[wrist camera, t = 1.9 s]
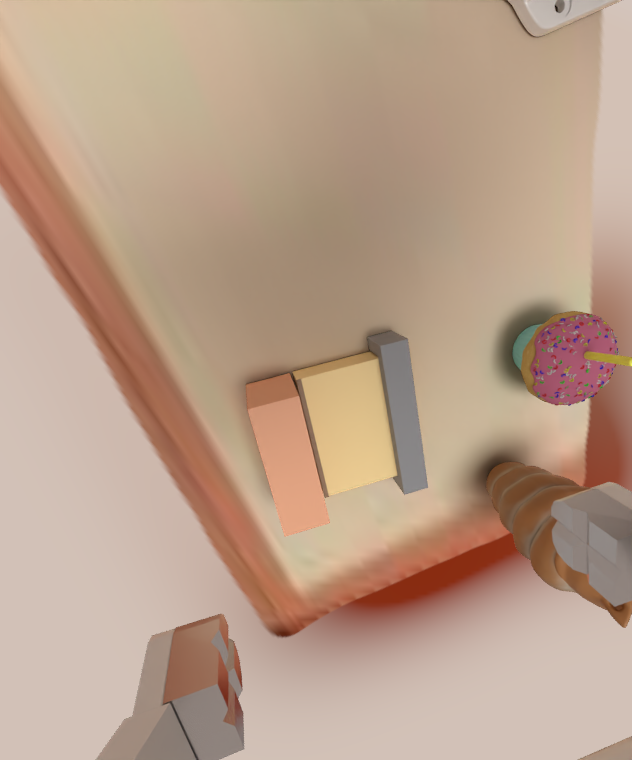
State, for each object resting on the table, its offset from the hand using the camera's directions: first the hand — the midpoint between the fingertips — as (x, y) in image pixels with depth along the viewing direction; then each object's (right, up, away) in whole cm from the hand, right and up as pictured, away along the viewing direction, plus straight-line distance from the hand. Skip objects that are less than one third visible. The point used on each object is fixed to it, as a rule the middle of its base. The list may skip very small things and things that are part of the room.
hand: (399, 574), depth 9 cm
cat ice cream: (+18, -5, +35) cm, 39 cm away
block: (-5, -1, +29) cm, 29 cm away
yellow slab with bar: (+2, +1, +30) cm, 30 cm away
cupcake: (+20, +8, +31) cm, 38 cm away
